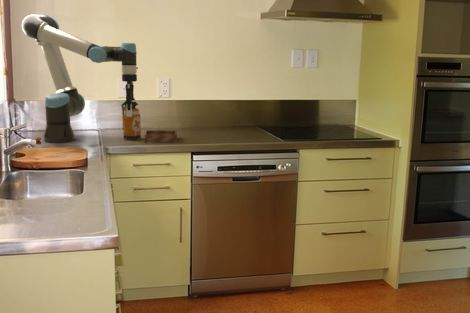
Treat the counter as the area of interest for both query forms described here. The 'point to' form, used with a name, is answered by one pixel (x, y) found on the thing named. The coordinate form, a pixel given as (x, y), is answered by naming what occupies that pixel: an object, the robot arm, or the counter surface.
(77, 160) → the counter surface
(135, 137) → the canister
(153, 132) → the cradle
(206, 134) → the counter surface
